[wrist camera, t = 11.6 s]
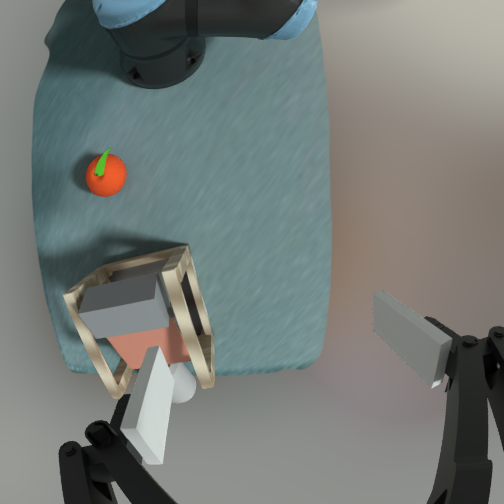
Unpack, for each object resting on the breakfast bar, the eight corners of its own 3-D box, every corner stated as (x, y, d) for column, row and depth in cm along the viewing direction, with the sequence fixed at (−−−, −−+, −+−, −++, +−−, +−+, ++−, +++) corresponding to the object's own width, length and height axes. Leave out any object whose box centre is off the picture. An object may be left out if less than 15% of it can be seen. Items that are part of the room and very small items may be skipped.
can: (160, 336, 46) (183, 367, 54) (129, 361, 42) (157, 389, 50) (185, 360, 42) (206, 388, 49) (151, 389, 38) (179, 413, 45)
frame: (100, 265, 45) (62, 295, 31) (188, 243, 46) (176, 269, 32) (132, 350, 49) (112, 398, 35) (214, 336, 51) (214, 386, 36)
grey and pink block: (81, 289, 33) (72, 314, 29) (164, 270, 34) (162, 297, 30) (128, 356, 43) (125, 380, 38) (198, 345, 43) (200, 370, 39)
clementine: (103, 146, 41) (86, 141, 34) (138, 154, 42) (125, 149, 35) (92, 191, 42) (73, 192, 35) (125, 200, 43) (111, 202, 36)
